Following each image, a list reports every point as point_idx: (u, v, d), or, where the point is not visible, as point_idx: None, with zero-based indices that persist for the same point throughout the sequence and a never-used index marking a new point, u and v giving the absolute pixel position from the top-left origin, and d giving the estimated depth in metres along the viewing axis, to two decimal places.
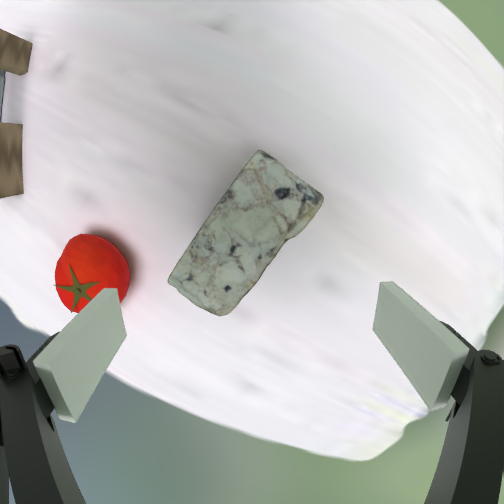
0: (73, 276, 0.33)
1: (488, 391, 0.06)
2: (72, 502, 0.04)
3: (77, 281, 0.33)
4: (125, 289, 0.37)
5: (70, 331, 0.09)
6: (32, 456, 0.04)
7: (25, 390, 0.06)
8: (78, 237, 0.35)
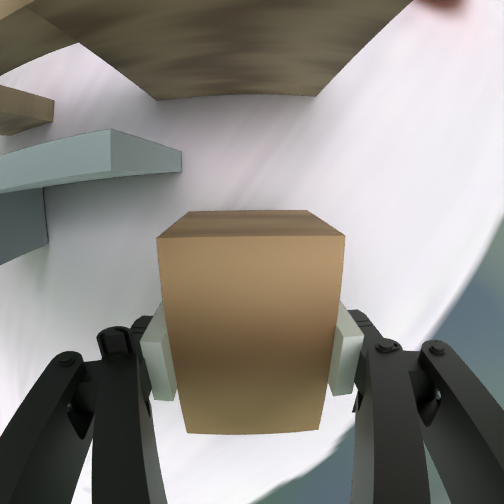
0: None
1: (390, 382, 0.07)
2: (155, 495, 0.04)
3: None
4: None
5: None
6: (125, 444, 0.05)
7: (130, 374, 0.08)
8: None
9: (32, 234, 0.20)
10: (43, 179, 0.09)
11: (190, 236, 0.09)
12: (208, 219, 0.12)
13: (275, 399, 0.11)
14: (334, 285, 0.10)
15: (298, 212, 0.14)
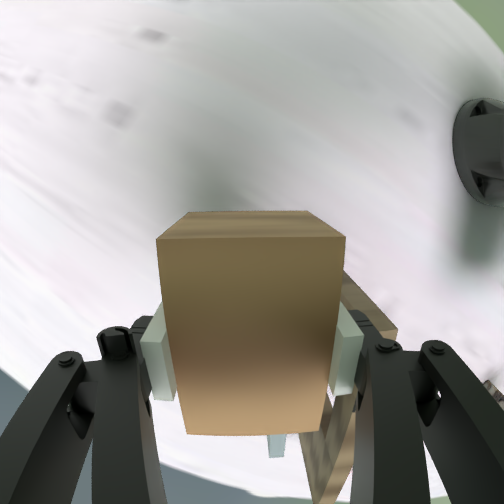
0: None
1: (390, 382, 0.07)
2: (156, 495, 0.04)
3: None
4: None
5: None
6: (125, 444, 0.05)
7: (130, 375, 0.08)
8: None
9: None
10: (270, 441, 0.25)
11: (190, 237, 0.09)
12: (208, 220, 0.12)
13: (275, 400, 0.11)
14: (334, 286, 0.10)
15: (298, 213, 0.14)
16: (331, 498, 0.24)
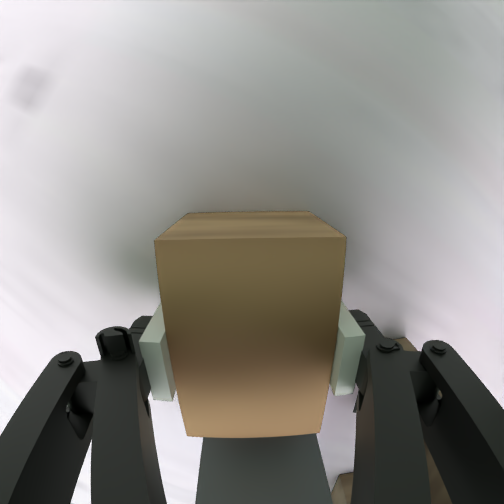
0: None
1: (391, 382, 0.07)
2: (155, 496, 0.04)
3: None
4: None
5: None
6: (123, 444, 0.05)
7: (129, 375, 0.08)
8: None
9: None
10: None
11: (188, 238, 0.09)
12: (207, 220, 0.12)
13: (276, 402, 0.11)
14: (335, 287, 0.10)
15: (299, 213, 0.14)
16: None
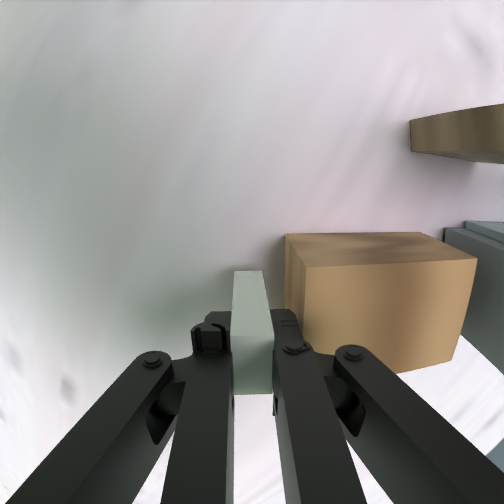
0: None
1: (302, 385, 0.07)
2: (229, 499, 0.05)
3: None
4: None
5: (243, 306, 0.12)
6: (208, 445, 0.05)
7: (222, 373, 0.08)
8: None
9: None
10: None
11: None
12: None
13: (437, 302, 0.12)
14: (347, 271, 0.11)
15: (286, 247, 0.16)
16: None
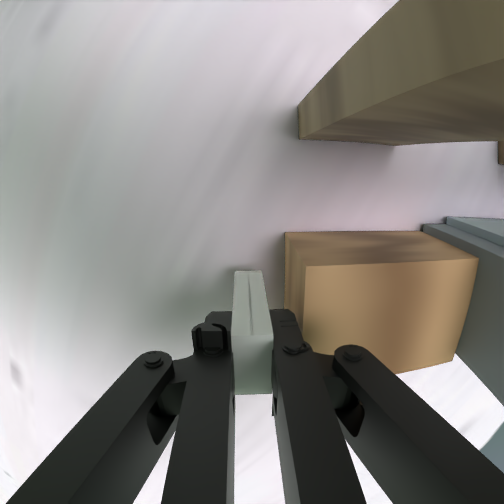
0: None
1: (301, 385, 0.07)
2: (229, 499, 0.05)
3: None
4: None
5: (243, 307, 0.12)
6: (209, 445, 0.05)
7: (223, 373, 0.08)
8: None
9: None
10: None
11: None
12: None
13: (438, 302, 0.12)
14: (347, 270, 0.11)
15: (287, 246, 0.16)
16: None
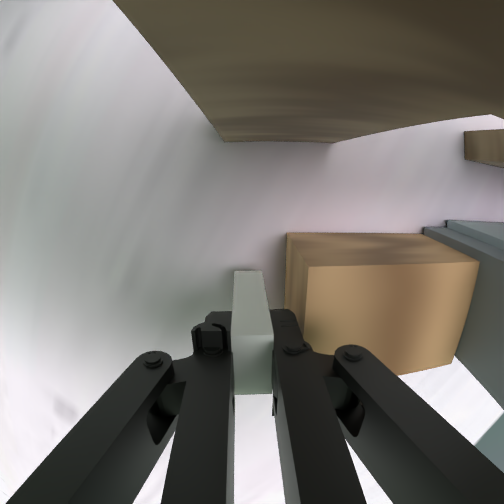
0: None
1: (301, 385, 0.07)
2: (229, 499, 0.05)
3: None
4: None
5: (243, 306, 0.12)
6: (209, 445, 0.05)
7: (223, 373, 0.08)
8: None
9: None
10: None
11: None
12: None
13: (438, 304, 0.12)
14: (350, 271, 0.11)
15: (288, 246, 0.16)
16: None
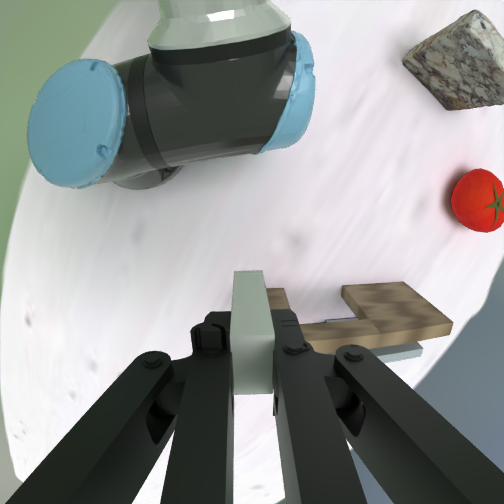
0: (491, 206, 0.36)
1: (302, 385, 0.07)
2: (228, 499, 0.05)
3: (493, 203, 0.36)
4: None
5: (242, 307, 0.12)
6: (208, 445, 0.05)
7: (222, 373, 0.08)
8: (462, 203, 0.39)
9: None
10: (404, 359, 0.39)
11: None
12: None
13: None
14: None
15: None
16: (429, 330, 0.33)
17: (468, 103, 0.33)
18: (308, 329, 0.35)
